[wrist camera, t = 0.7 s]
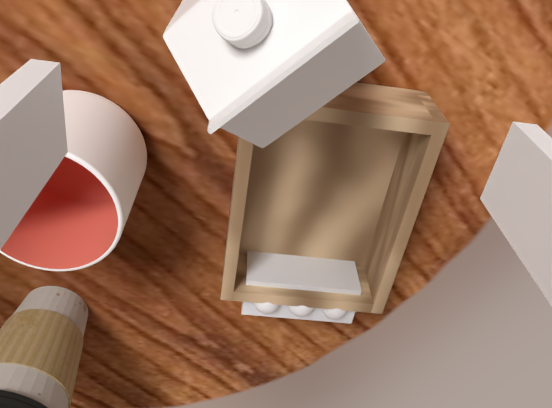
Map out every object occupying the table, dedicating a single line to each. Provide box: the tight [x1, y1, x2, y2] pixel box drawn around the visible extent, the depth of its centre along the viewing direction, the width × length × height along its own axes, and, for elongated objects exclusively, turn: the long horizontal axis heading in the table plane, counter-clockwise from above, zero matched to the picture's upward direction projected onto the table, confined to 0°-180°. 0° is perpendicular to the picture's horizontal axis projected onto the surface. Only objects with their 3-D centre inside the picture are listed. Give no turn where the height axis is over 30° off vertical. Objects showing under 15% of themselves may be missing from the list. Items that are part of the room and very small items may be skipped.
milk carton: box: [163, 0, 386, 148], centre depth 27 cm, size 7×7×19 cm
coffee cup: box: [0, 286, 88, 408], centre depth 45 cm, size 10×10×15 cm
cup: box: [0, 90, 147, 271], centre depth 37 cm, size 10×10×10 cm
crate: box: [220, 82, 450, 314], centre depth 41 cm, size 14×18×6 cm
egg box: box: [241, 251, 362, 324], centre depth 46 cm, size 10×4×5 cm, turn 82°
